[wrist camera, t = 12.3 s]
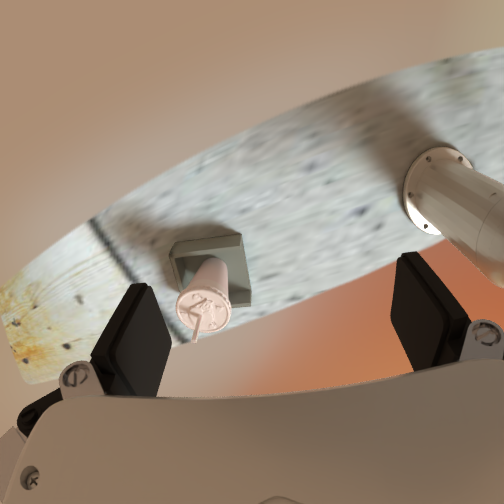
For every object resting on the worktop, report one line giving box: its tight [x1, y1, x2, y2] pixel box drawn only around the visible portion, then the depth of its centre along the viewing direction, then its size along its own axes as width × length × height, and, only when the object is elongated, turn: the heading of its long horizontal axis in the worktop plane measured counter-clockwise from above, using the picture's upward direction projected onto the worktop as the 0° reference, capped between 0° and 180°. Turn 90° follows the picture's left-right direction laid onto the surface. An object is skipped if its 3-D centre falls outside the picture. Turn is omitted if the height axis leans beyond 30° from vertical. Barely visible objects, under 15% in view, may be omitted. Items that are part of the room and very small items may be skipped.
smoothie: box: [176, 258, 231, 344], centre depth 37 cm, size 6×6×14 cm
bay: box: [169, 234, 252, 308], centre depth 42 cm, size 9×9×4 cm
